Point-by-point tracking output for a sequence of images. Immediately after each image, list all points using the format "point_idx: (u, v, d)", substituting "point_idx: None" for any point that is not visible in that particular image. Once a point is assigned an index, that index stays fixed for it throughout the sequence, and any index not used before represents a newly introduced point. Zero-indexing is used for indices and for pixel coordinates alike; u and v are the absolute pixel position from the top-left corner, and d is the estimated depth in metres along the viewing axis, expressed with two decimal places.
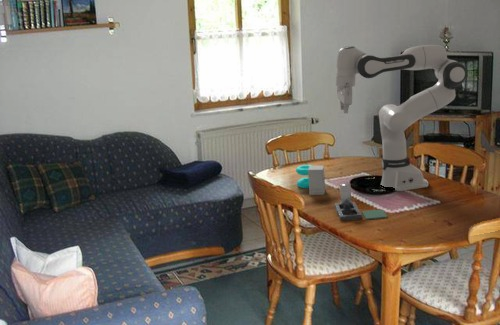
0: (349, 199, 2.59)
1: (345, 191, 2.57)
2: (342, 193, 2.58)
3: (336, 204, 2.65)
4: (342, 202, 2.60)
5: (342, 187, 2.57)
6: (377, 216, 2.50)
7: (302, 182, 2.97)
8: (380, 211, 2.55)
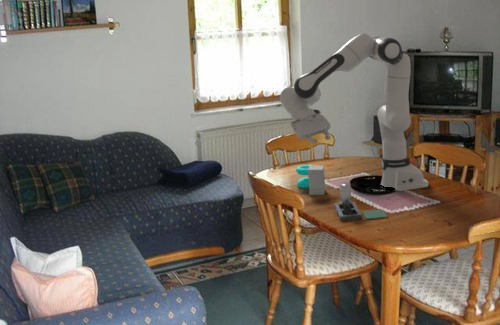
0: (349, 199, 2.59)
1: (345, 191, 2.57)
2: (342, 193, 2.58)
3: (336, 204, 2.65)
4: (342, 202, 2.60)
5: (342, 187, 2.57)
6: (377, 216, 2.50)
7: (302, 182, 2.97)
8: (380, 211, 2.55)
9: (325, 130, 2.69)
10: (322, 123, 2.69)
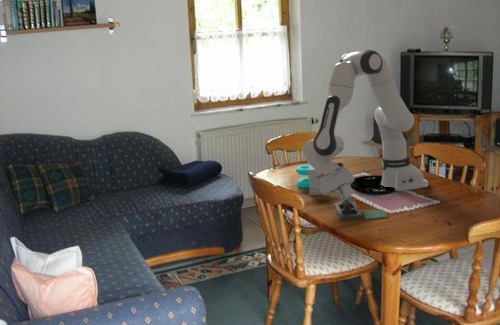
0: (349, 199, 2.59)
1: (345, 191, 2.57)
2: None
3: (336, 204, 2.65)
4: (342, 202, 2.60)
5: (342, 187, 2.57)
6: (377, 216, 2.50)
7: (302, 182, 2.97)
8: (380, 211, 2.55)
9: None
10: (346, 176, 2.65)
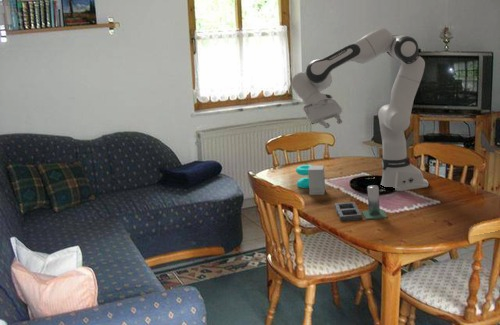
0: (377, 202, 2.50)
1: (372, 193, 2.49)
2: (370, 196, 2.50)
3: (336, 204, 2.65)
4: (370, 205, 2.51)
5: (370, 189, 2.49)
6: (377, 216, 2.50)
7: (302, 182, 2.97)
8: (380, 211, 2.55)
9: (337, 114, 2.72)
10: (334, 107, 2.73)
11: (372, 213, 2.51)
